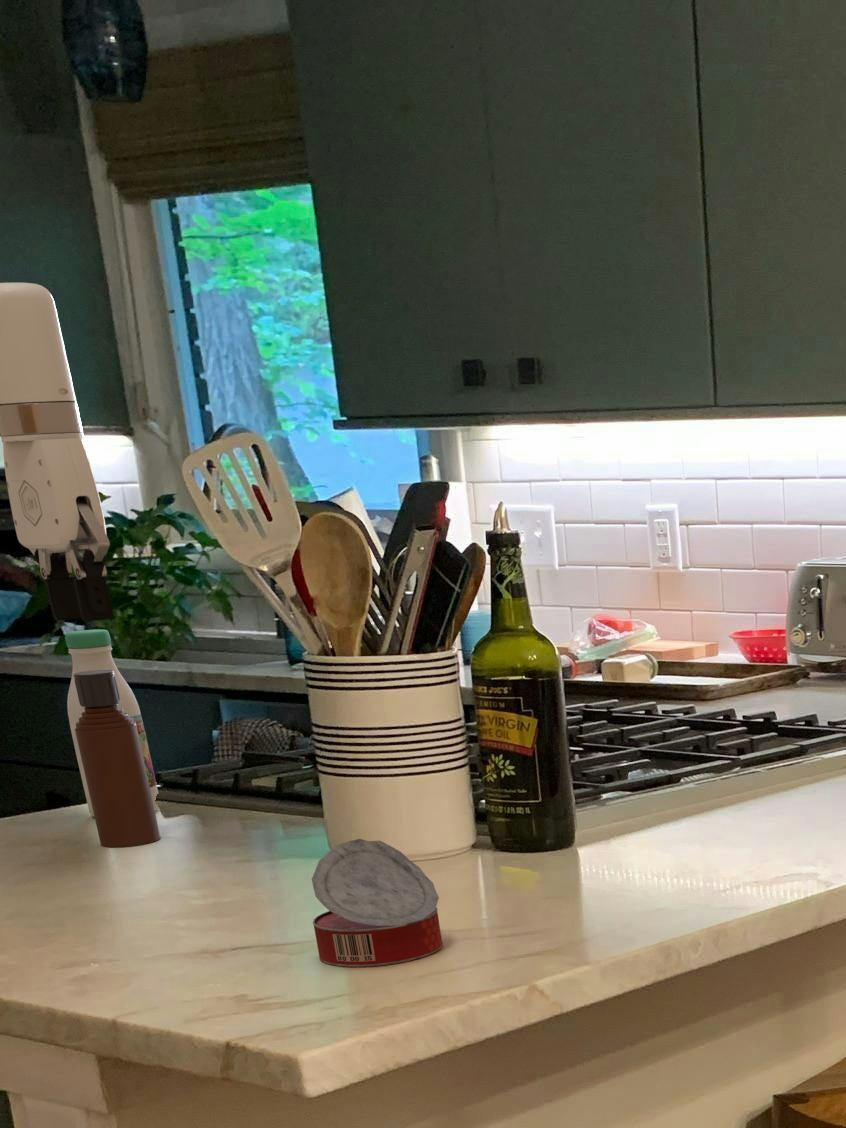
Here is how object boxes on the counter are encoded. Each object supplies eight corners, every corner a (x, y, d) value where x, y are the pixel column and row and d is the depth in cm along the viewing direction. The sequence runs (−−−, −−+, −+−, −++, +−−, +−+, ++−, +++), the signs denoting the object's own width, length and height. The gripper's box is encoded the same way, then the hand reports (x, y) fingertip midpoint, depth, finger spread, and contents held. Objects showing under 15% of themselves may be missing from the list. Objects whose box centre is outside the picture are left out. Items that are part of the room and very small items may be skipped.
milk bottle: (75, 819, 220) (33, 635, 211) (117, 806, 226) (78, 627, 218) (134, 819, 218) (94, 634, 210) (175, 806, 225) (137, 626, 216)
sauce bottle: (89, 847, 204) (51, 681, 197) (120, 835, 209) (84, 673, 202) (141, 847, 203) (105, 679, 196) (171, 835, 208) (136, 671, 201)
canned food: (434, 988, 164) (476, 880, 161) (407, 1009, 154) (451, 895, 152) (306, 932, 162) (347, 822, 160) (271, 950, 153) (313, 833, 150)
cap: (72, 707, 199) (65, 675, 198) (94, 702, 202) (87, 670, 201) (107, 706, 198) (100, 674, 197) (128, 701, 202) (121, 669, 200)
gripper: (-39, 429, 192) (8, 622, 199) (46, 422, 182) (92, 625, 189) (34, 426, 197) (76, 614, 204) (120, 419, 187) (162, 617, 194)
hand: (83, 617), depth 197 cm, fingers open, 4 cm apart
